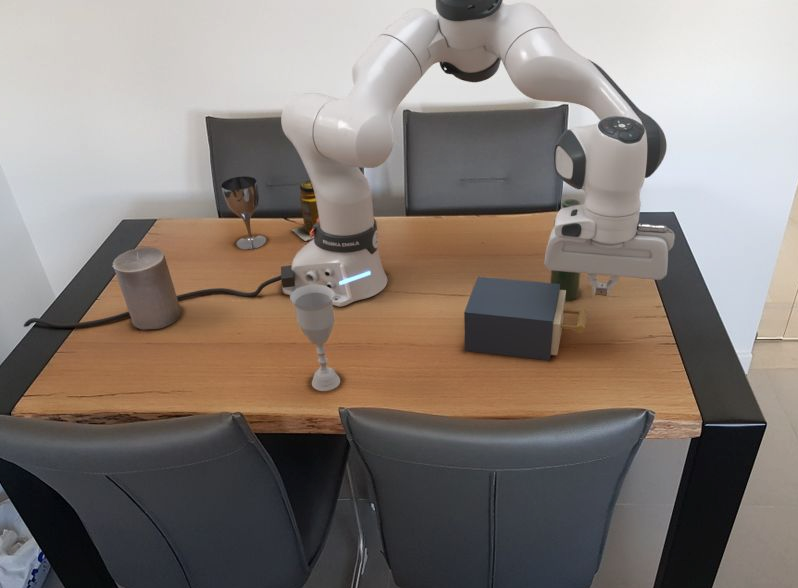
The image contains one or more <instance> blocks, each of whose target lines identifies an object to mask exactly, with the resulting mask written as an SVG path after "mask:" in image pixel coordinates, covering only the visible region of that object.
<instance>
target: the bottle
mask: <svg viewBox="0 0 798 588" xmlns="http://www.w3.org/2000/svg"><path fill="white" fill-rule="evenodd" d="M561 204H562V209H563V208H567V207H571V206H576V205H580V204H581V201H580V200H578V199H575V198H568V199H564V200H563V201H562V203H561ZM554 226H555V220H554V221H553V227H554ZM581 274H582V273H576V272H564V271H553V270H550V277H549V283H555V284H560V290H566V297H565V302H567V301H572V300H575V299H577V298H578V297H579V293H580V284H581Z"/></svg>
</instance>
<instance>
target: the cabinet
mask: <svg viewBox="0 0 798 588" xmlns="http://www.w3.org/2000/svg"><path fill="white" fill-rule="evenodd" d="M559 290H560V284H555V283H550V282H544V281H543V282H542V281H533V280H521V279H520V280H519V279H509V278H500V277H499V278H497V277H488V276H487V277H486V276H477V277H476V280H475V282H474V285H473V288H472V291H471V293H470V296H469V298H468V302H467V304H466V306H465V309H464V311H463V315H464V316H463V317H464V318H463V319H464V321H463V324H464V325H463V326H464V327H463V328H464V351H465V352H471V353H482V354H490V355H496V356H497V355H499V356H507V357H516V358H525V359H532V360H542V361H551V356H552V355H551V342H552V329H553V321H554V316H555V310H556V305H557V300H558V295H559Z"/></svg>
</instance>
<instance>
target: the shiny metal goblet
mask: <svg viewBox="0 0 798 588" xmlns="http://www.w3.org/2000/svg"><path fill="white" fill-rule="evenodd" d="M221 190H222V195H223V198H224V201H225V204H227V207H228V208H229V210H230V211H231V212H232V213H234V214H235V215H237V216H238V217H240V218H241V220H242V221H243V223H244V225H245V228H246V231H247V235H246V236H243V237H241V238H240V239H238V240H237V241H236V247H237V248H239V249H242V250H253V249H254V250H255V249H257V248H260V247H262V246H264V245H265V244H266V243H267V238H266V237H265V236H263V235H259V234H252V230H251V217H252V216H253V214H254V213H255V211H256V209H257V208H258V206H259V199H260V195H259V193H260V192H259V186H258V181H257V179H256V178H255V177H252V176H244V175H243V176H235V177H232V178H228V179H227V180H224V181H223V182H222V183H221Z"/></svg>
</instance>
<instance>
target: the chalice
mask: <svg viewBox="0 0 798 588" xmlns="http://www.w3.org/2000/svg"><path fill="white" fill-rule="evenodd" d="M333 297H334V292H333V290H332V289H331V288H329V287H327V286H323V285H307V286H303V287H300V288H298V289H296V290H295V291H293V292H292V294H291V295H289V300H290V302H291V303H292V304H293V305H294V310H295V316H296V321H297V324H298V326H299V328H300V330H301V331H302V333H303V334H304V336H306V338H307V339H308V340H309V342H310V343H311V344H313V345H316V346H317V348H316V350H315V351H316V354H317V355H318V359H317V363H318V364H319V365H320V367H319V368H317V370H316V371H315V372H314V373H313V377H312V381H311V386H312V388H314V389H315V390H317V391H320V392H328V391H332V390H334V389H336V388H337V387H338V386H340V383H341V378H340V377H339V375H338V374H337V372H336V371H335V369H333V368H332V367H330V366H327V362H328V361H329V359H328V358H327V357H326V356H325V354H326V353H327V350H326V349H325V348H324V344H326V343H327V342H328V340H329V338H330V336H331V333H332V331H333V327H334V324H335V312H334V305H332V300H333Z"/></svg>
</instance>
